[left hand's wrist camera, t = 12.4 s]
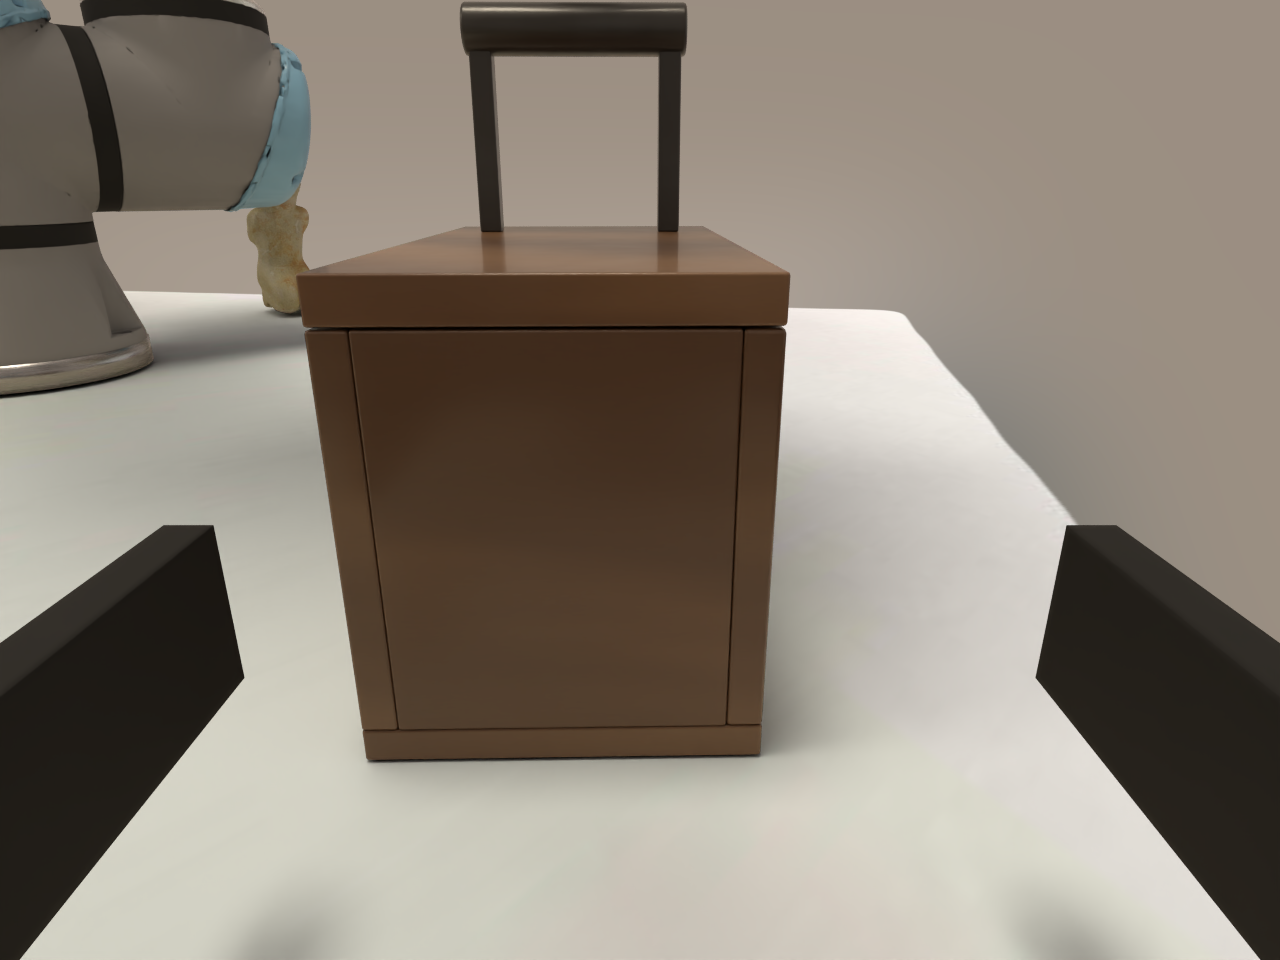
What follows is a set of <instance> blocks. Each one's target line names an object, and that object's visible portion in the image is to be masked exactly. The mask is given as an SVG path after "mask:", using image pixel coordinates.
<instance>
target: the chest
mask: <svg viewBox="0 0 1280 960" xmlns="http://www.w3.org/2000/svg"><path fill="white" fill-rule="evenodd" d="M305 341H306V348H307V354H308V361H309V368H310V375H311V382H312V388H313V395H314V402H315V409H316V416H317V423H318V429H319V436H320V443H321V450H322V457H323V463H324V470H325V477H326V484H327V491H328V498H329V504H330V511H331V518H332V525H333V532H334V538H335V545H336V552H337V559H338V566H339V573H340V579H341V586H342V593H343V600H344V607H345V613H346V620H347V627H348V634H349V641H350V648H351V654H352V661H353V668H354V675H355V682H356V689H357V695H358V702H359V709H360V716H361V723H362V728H363V729H364V730H363V737H364V744H365V751H366V758H367V759H368V760H390V759H460V758H531V757H601V756H672V755H743V754H759V753H760V747H761V731H762V726H761V721H762V711H763V695H764V679H765V663H766V647H767V632H768V616H769V600H770V584H771V568H772V552H773V536H774V520H775V505H776V489H777V473H778V457H779V441H780V425H781V409H782V393H783V378H784V362H785V346H786V331H785V329H784V328H783V327H782V326H591V327H344V328H312V329H309V330H307V331H305Z"/></svg>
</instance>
